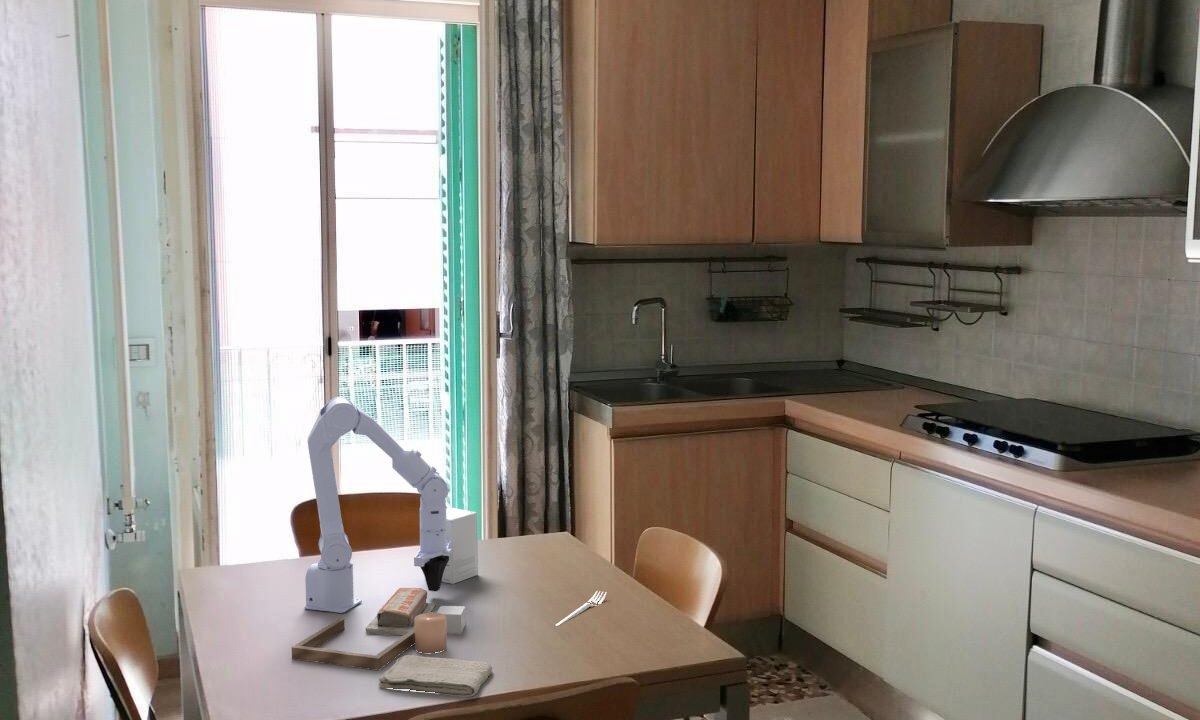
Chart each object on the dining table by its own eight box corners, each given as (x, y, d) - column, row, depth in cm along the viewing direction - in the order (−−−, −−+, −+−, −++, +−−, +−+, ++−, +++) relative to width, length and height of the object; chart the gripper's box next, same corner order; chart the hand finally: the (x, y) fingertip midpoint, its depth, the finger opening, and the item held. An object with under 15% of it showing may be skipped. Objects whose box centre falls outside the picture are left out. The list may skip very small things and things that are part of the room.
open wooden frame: (291, 658, 208) (291, 647, 208) (339, 629, 224) (338, 618, 224) (378, 670, 203) (378, 658, 203) (420, 639, 219) (420, 628, 218)
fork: (549, 628, 227) (548, 619, 227) (595, 598, 245) (595, 590, 245) (563, 631, 226) (563, 621, 226) (608, 600, 243) (608, 592, 243)
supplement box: (450, 568, 266) (450, 506, 264) (479, 575, 261) (478, 511, 259) (423, 577, 258) (422, 513, 257) (452, 584, 253) (451, 519, 252)
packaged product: (390, 584, 239) (436, 586, 238) (390, 606, 240) (436, 608, 239) (364, 612, 221) (414, 614, 220) (364, 636, 222) (414, 638, 221)
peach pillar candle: (409, 652, 212) (408, 621, 211) (423, 641, 218) (423, 611, 217) (438, 655, 210) (437, 624, 210) (452, 644, 216) (451, 614, 215)
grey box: (436, 633, 222) (435, 614, 222) (440, 625, 227) (440, 605, 227) (461, 634, 222) (461, 614, 222) (465, 625, 227) (465, 606, 227)
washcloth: (399, 667, 206) (399, 650, 206) (494, 674, 203) (494, 657, 202) (375, 692, 194) (375, 675, 194) (475, 700, 191) (475, 683, 191)
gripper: (435, 538, 235) (435, 602, 236) (464, 522, 248) (464, 582, 250) (404, 536, 237) (405, 598, 238) (435, 519, 250) (436, 579, 252)
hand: (434, 590), depth 244 cm, fingers closed
